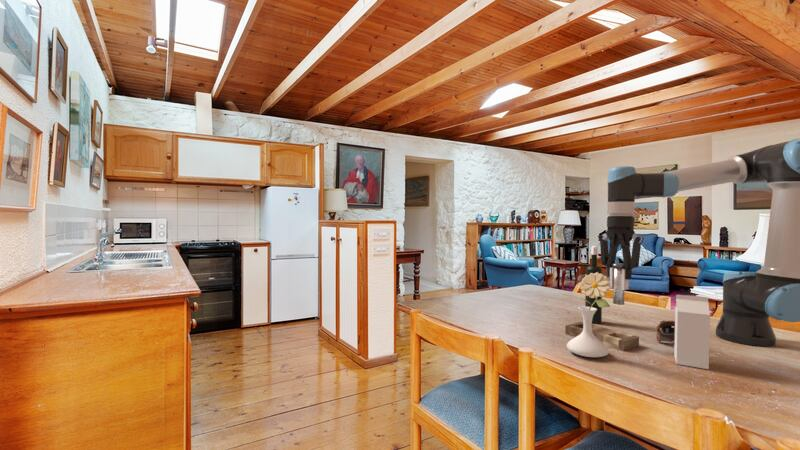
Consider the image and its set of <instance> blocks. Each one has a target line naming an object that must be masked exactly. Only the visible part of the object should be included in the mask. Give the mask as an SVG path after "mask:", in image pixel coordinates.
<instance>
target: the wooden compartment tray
mask: <svg viewBox="0 0 800 450" xmlns="http://www.w3.org/2000/svg"><path fill="white" fill-rule="evenodd" d="M583 326H584V324H583V321H579V322H575V323H571V324H570V323H569V324H566V325H565V329H564V330H565V335H566V336H567V335H568V336H571V337H573V338H575V337H576V336H578V335H580V334H581V333H582V331H583ZM592 333H593V334H594V336H595V337H596V338H597V339H599V340H600V341H601V342H602V343H603V344H604V345H605V346H606V347H607V348H612V349H614V350H619V351H622V352H625V351H628V350H631V349H634V348H637V347H639V346H640V336H638V335H633V334H630V333H627V332H622V331H618V330H614V329H609V328H606V327H602V326H598V325H596V324H592Z"/></svg>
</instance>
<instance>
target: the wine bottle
mask: <svg viewBox="0 0 800 450" xmlns="http://www.w3.org/2000/svg"><path fill="white" fill-rule="evenodd" d="M590 251H591V253H590V254H591V258H590V259H591V261H590V263H591V265H587V266H586V268H585V275H590V273H593V274H594V273H596V272H598V273H599V274H602V275H603V268H602V267H601V266H599V265H598V245H591V248H590ZM584 297H585V298H584V299H585V300H587V301H588V302H589V303H588V302H586V301H585V300H584V302H585V307H590V306H591V305H592V304H593V303H594V301H595V300H596V298H590V297H589V296H586V295H585V296H584ZM599 299H603V296H602V297H598V298H597V300H599ZM592 307H593V308H596V309H597V311H596V312H595V313H594V315H593V319H592V325H600V324H602V319H603V318H602V315H603V314H602V313H603V311H602V309H603V307H599V306H598V305H597V303H596V302H595V303H594V305H593V306H592Z"/></svg>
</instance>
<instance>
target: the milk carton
mask: <svg viewBox="0 0 800 450" xmlns="http://www.w3.org/2000/svg"><path fill="white" fill-rule="evenodd" d="M675 297H676V299H675V304H674V308H675V309H674V321H675V341H674V345H673V346H674V348H673V350H674V351H673V352H674V360H675V363H676V364H677V365H681V366H687V367H692V368H698V369H699V368H700V369H704V370H709V369H710V327H711V324H710V322H711V320H710V319H711V317H710V316H711V313H710V305H709V297H708V296H707V297H704V296H697V295H695V296H694V295H687V294H686V295H684V294H676V295H675Z"/></svg>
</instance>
